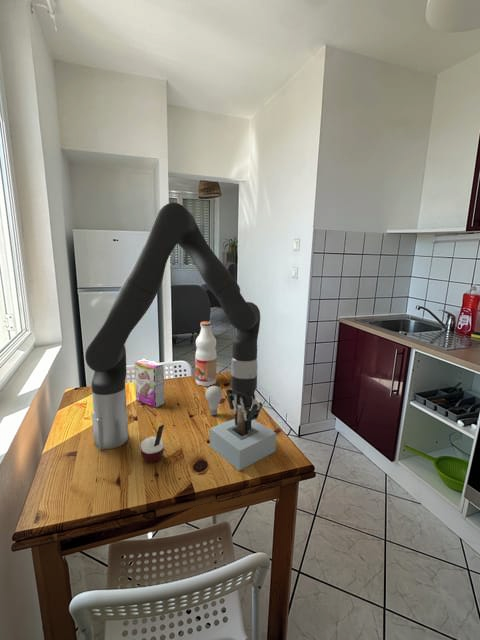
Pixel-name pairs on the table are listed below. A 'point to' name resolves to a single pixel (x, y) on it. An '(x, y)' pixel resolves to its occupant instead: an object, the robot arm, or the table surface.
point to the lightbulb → (213, 398)
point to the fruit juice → (206, 356)
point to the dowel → (240, 421)
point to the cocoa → (153, 447)
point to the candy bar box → (149, 382)
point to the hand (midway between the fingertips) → (242, 427)
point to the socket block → (242, 443)
